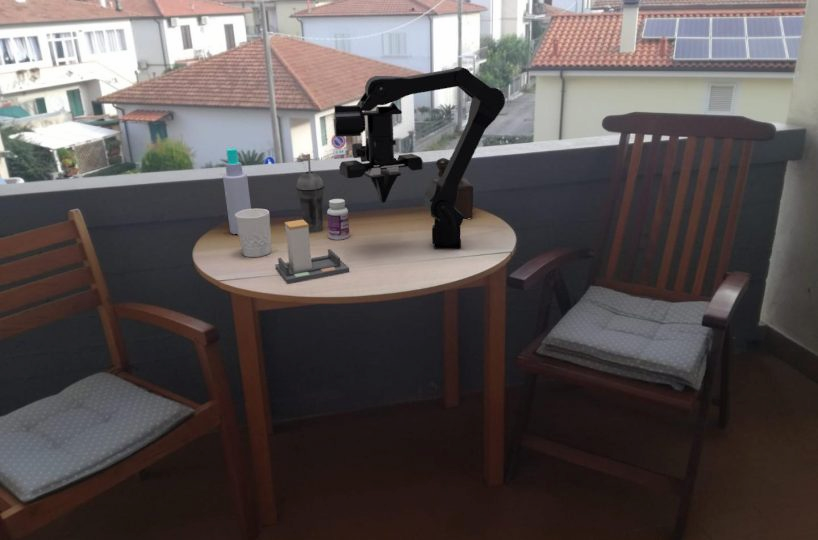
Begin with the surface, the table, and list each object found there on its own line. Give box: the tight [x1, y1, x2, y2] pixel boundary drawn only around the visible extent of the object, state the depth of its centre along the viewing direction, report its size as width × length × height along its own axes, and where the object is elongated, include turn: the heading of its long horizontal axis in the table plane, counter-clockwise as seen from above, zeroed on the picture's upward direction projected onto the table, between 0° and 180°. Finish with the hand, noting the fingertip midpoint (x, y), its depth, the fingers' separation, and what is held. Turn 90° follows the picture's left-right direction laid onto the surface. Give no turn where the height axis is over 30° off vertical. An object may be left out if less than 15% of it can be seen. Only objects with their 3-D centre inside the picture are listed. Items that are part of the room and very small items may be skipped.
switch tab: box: [284, 219, 312, 272], centre depth 137 cm, size 4×4×10 cm
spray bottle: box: [222, 148, 252, 236], centre depth 164 cm, size 6×6×22 cm
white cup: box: [235, 208, 272, 258], centre depth 151 cm, size 8×8×10 cm
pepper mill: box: [430, 157, 474, 220], centre depth 172 cm, size 16×11×18 cm
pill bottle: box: [326, 198, 350, 241], centre depth 160 cm, size 5×5×10 cm
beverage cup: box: [295, 153, 325, 233], centre depth 165 cm, size 7×7×20 cm
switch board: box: [274, 249, 350, 285], centre depth 140 cm, size 14×10×3 cm
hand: (382, 202), depth 147 cm, fingers closed
